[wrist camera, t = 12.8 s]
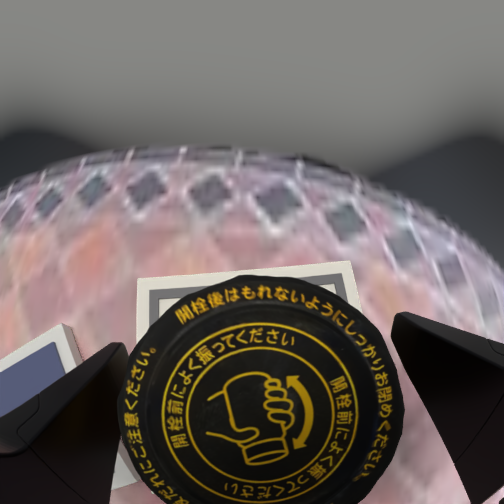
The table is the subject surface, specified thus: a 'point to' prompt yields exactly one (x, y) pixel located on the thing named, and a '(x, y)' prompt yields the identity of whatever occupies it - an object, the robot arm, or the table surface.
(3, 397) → the ink pad
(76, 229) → the table surface
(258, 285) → the condiment
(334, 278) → the marked board
